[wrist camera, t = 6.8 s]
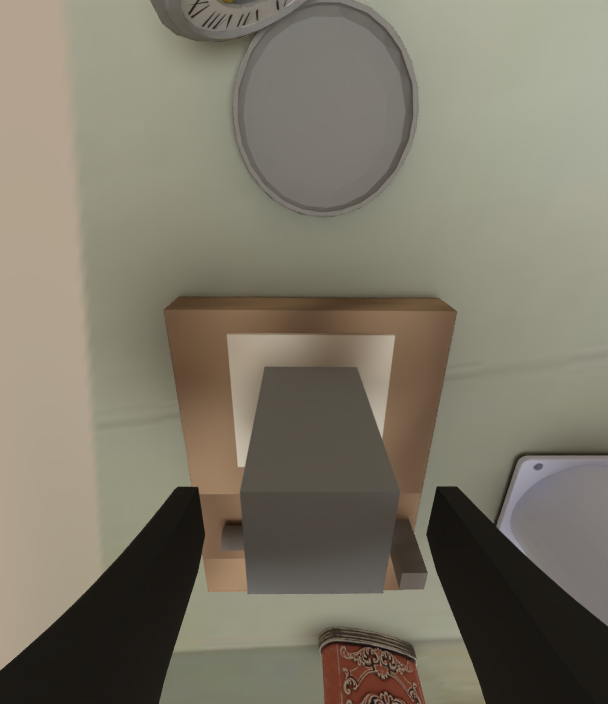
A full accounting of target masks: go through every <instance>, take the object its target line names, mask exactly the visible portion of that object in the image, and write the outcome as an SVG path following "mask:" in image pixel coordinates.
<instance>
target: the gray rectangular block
mask: <svg viewBox="0 0 608 704" xmlns="http://www.w3.org/2000/svg"><path fill="white" fill-rule="evenodd" d="M399 497H400V489H399V486H398V484H397V481H396V478H395V475H394V472H393V469H392V466H391V463H390V461H389V458H388V455H387V452H386V449H385V446H384V443H383V440H382V438H381V435H380V432H379V429H378V426H377V423H376V420H375V417H374V415H373V412H372V409H371V406H370V403H369V400H368V397H367V394H366V392H365V389H364V386H363V383H362V380H361V377H360V374H359V371H358V369H357V367H264V372H263V377H262V382H261V388H260V393H259V398H258V403H257V408H256V413H255V418H254V423H253V428H252V433H251V438H250V443H249V448H248V453H247V458H246V463H245V468H244V473H243V478H242V484H241V489H240V500H241V513H242V526H243V539H244V552H245V565H246V578H247V591H248V594H345V593H383V590H384V585H385V579H386V573H387V567H388V561H389V555H390V550H391V544H392V538H393V532H394V526H395V520H396V514H397V509H398V503H399Z"/></svg>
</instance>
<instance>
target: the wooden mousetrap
mask: <svg viewBox="0 0 608 704" xmlns="http://www.w3.org/2000/svg"><path fill="white" fill-rule="evenodd" d="M164 314H165V320H166V326H167V333H168V339H169V346H170V352H171V358H172V365H173V371H174V377H175V384H176V390H177V396H178V403H179V409H180V415H181V422H182V428H183V434H184V441H185V447H186V453H187V460H188V466H189V472H190V479H191V485H192V487H198V488H199V495H200V502H201V509H202V516H203V522H204V529H205V539H204V544H203V550H202V555H203V561H204V567H205V574H206V580H207V586H208V592H240V591H247V578H246V565H245V552H244V539H243V526H242V513H241V500H240V489H241V484H242V478H243V473H244V468H245V463H246V458H247V453H248V448H249V443H250V438H251V433H252V428H253V423H254V418H255V413H256V408H257V403H258V398H259V393H260V388H261V382H262V377H263V372H264V367H357V369H358V371H359V374H360V377H361V380H362V383H363V386H364V389H365V392H366V394H367V397H368V400H369V403H370V406H371V409H372V412H373V415H374V417H375V420H376V423H377V426H378V429H379V432H380V435H381V438H382V440H383V443H384V446H385V449H386V452H387V455H388V458H389V461H390V463H391V466H392V469H393V472H394V475H395V478H396V481H397V484H398V486H399V489H400V497H399V503H398V509H397V514H396V520H395V526H394V532H393V538H392V544H391V550H390V555H389V561H388V567H387V573H386V579H385V585H384V590H403V589H424V586H425V582H426V578H427V574H428V573H427V570H426V567H425V564H424V561H423V558H422V555H421V552H420V549H419V547H418V544H417V541H416V538H415V535H414V529H415V524H416V518H417V513H418V508H419V503H420V498H421V493H422V488H423V483H424V478H425V473H426V467H427V462H428V457H429V452H430V447H431V442H432V437H433V432H434V427H435V422H436V416H437V411H438V406H439V401H440V396H441V391H442V386H443V381H444V376H445V371H446V365H447V360H448V355H449V350H450V345H451V340H452V335H453V330H454V325H455V320H456V314H457V311H456V310H454V309H453V308H452V307H450V306H449V305H447V304H446V303H445V302H443V301H442V300H440V299H433V298H277V297H178V298H177V299H176V300H175V301H174V302H172V303H171V304H170V305H169V306H168V307H166V308H165V309H164Z"/></svg>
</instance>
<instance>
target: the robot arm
mask: <svg viewBox="0 0 608 704" xmlns="http://www.w3.org/2000/svg"><path fill="white" fill-rule="evenodd" d="M426 535H427V538H428V542H429V546H430V550H431V554H432V557H433V561H434V564H435V568H436V571H437V574H438V576H439V579H440V582H441V584H442V587H443V589H444V592H445V595H446V597H447V600H448V602H449V605H450V607H451V610H452V612H453V615H454V617H455V620H456V622H457V625H458V628H459V630H460V633H461V635H462V638H463V640H464V643H465V645H466V648H467V650H468V653H469V655H470V658H471V660H472V663H473V666H474V669H475V672H476V674H477V677H478V680H479V683H480V686H481V689H482V693H483V696H484V699H485V702H486V704H608V456H524V457H522V458H520V459H519V460H518V462H517V465H516V468H515V471H514V474H513V477H512V480H511V483H510V486H509V489H508V492H507V495H506V498H505V501H504V504H503V507H502V510H501V513H500V516H499V519H498V522H497V525H496V526H495V525H494V524H493V523H492V522H491V521H490V520H489V519H488V518H487V517H486V516H485V515H484V514H483V513H482V512H481V511H480V510H479V509H478V508H477V507H476V506H475V505H474V504H473V503H472V501H471V500H470V499H469V498H468V497H467V496H466V495H465V494H464V493H463V492H462V491H461V490H460V489H459V488H458V487H437V488H436V492H435V497H434V502H433V506H432V511H431V516H430V520H429V525H428V529H427V534H426ZM204 539H205V529H204V522H203V516H202V509H201V502H200V495H199V488H198V487H177V488H176V489H175V490H174V491H173V492H172V494H171V495H170V496H169V497H168V499H167V500H166V501H165V503H164V504H163V505H162V506H161V508H160V509H159V510H158V511H157V513H156V514H155V515H154V516H153V517H152V519H151V520H150V521H149V522H148V523H147V525H146V526H145V527H144V528H143V530H142V531H141V532H140V533H139V534H138V535H137V536H136V538H135V539H134V540H133V541H132V542H131V543H130V545H129V546H128V547H127V548H126V549H125V550H124V552H123V553H122V554H121V555H120V556H119V557H118V558H117V559H116V560H115V561H114V563H113V564H112V565H111V566H110V567H109V568H108V569H107V570H106V571H105V572H104V573H103V574H102V575H101V576H100V578H99V579H98V580H97V581H96V582H95V583H94V584H93V585H92V586H91V587H90V588H89V589H88V590H87V591H86V592H85V593H84V594H83V595H82V596H81V597H80V598H79V599H78V600H77V601H76V602H75V603H74V604H73V605H72V606H71V607H70V608H69V609H68V610H67V611H66V612H65V613H64V614H63V615H62V616H61V617H60V618H59V619H58V620H56V622H54V623H53V624H52V625H51V626H50V627H49V628H48V629H47V630H46V631H45V632H43V633H42V634H41V635H40V636H39V637H38V638H37V639H36V640H35V641H34V642H32V643H31V644H30V645H29V646H28V647H27V648H26V649H25V650H23V651H22V652H21V653H20V654H19V655H18V656H17V657H16V658H14V659H13V660H12V661H11V662H10V663H9V664H7V665H6V666H5V667H4V668H3V669H2V670H0V704H159V700H160V696H161V692H162V688H163V684H164V680H165V677H166V673H167V669H168V666H169V662H170V659H171V656H172V653H173V650H174V646H175V643H176V640H177V637H178V634H179V631H180V627H181V624H182V621H183V618H184V615H185V612H186V608H187V605H188V602H189V599H190V596H191V592H192V589H193V586H194V583H195V580H196V576H197V573H198V569H199V564H200V559H201V555H202V550H203V544H204Z"/></svg>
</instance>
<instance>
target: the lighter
mask: <svg viewBox="0 0 608 704" xmlns="http://www.w3.org/2000/svg"><path fill="white" fill-rule="evenodd" d="M319 651H320V655H321V656H322V663H323V682H324V702H325V704H425V700H424V696H423V692H422V688H421V684H420V681H419V677H418V673H417V669H416V665H417V659H416V655H415V651H414V648H413V646H412V645H411V644H409V643H406V642H404V641H401V640H399V639H396V638H394V637H390V636H387V635H383V634H380V633H376V632H371V631H366V630H360V629H353V628H343V627H331V628H328V629H326V630H324V631H323V632H322V633H321V634H320V636H319Z"/></svg>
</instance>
